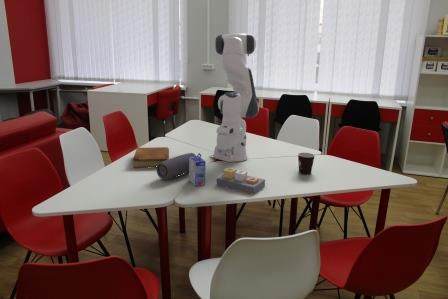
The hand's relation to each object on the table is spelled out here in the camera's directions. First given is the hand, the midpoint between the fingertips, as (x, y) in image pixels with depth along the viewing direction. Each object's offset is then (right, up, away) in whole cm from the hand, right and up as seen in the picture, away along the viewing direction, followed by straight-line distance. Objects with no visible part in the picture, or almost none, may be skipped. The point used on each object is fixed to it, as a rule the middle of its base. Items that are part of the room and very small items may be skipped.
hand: (230, 155), depth 183 cm
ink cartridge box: (-16, -14, +4) cm, 22 cm away
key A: (0, -11, +3) cm, 12 cm away
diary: (-44, -5, +35) cm, 56 cm away
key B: (+5, -12, 0) cm, 13 cm away
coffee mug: (+41, -9, +24) cm, 48 cm away
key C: (+10, -15, -2) cm, 18 cm away
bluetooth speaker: (-27, -11, +14) cm, 32 cm away
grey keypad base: (+5, -15, +1) cm, 16 cm away
